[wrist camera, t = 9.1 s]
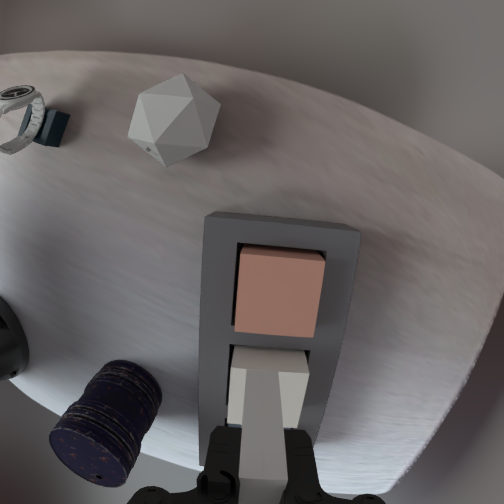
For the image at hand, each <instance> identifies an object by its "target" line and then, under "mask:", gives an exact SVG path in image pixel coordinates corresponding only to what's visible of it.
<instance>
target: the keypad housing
mask: <svg viewBox="0 0 504 504" xmlns="http://www.w3.org/2000/svg"><path fill="white" fill-rule="evenodd" d="M360 240H361V232H360V231H358V230H356V229H354V228H352V227H350V226H348V225H345V224H338V223H329V222H320V221H311V220H302V219H292V218H282V217H272V216H261V215H250V214H239V213H227V212H213V213H211V214H209V215H207V216H205V222H204V237H203V255H202V274H201V297H200V326H199V383H198V413H199V465H200V466H205V461H206V455H207V450H208V445H209V440H210V434H211V432H212V431H213V430H214V429H215V428H216V426H217V425H218V426H227V417H228V402H229V387H230V373H231V364H232V350H233V344H237V345H247V346H257V347H269V348H282V349H298V350H304V352H305V356H306V360H307V365H308V369H309V378H308V383H307V387H306V392H305V396H304V401H303V405H302V409H301V413H300V418H299V422H298V426H297V428H290V429H291V430H305V431H306V432H307V433H308V435H309V436H310V437H311V440H312V446H313V447H314V444H315V441H316V438H317V434H318V431H319V428H320V424H321V421H322V418H323V414H324V411H325V407H326V404H327V400H328V396H329V393H330V389H331V385H332V381H333V377H334V373H335V369H336V365H337V361H338V357H339V353H340V348H341V344H342V340H343V335H344V330H345V326H346V321H347V316H348V311H349V306H350V301H351V295H352V290H353V284H354V278H355V272H356V266H357V260H358V253H359V247H360ZM241 243H250V244H261V245H271V246H282V247H293V248H303V249H313V250H317V252H318V253H319V254H320V255H321V257H322V258H323V259H324V260H325V268H324V275H323V281H322V288H321V294H320V301H319V307H318V313H317V319H316V324H315V330H314V336H313V338H311V337H295V336H281V335H268V334H257V333H246V332H236V331H234V330H235V316H236V304H237V303H236V297H237V284H238V272H239V259H240V247H241Z"/></svg>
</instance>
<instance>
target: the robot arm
mask: <svg viewBox="0 0 504 504" xmlns="http://www.w3.org/2000/svg"><path fill="white" fill-rule="evenodd" d="M28 360H29V352H28V345H27V341H26V338H25V335H24V332H23V330H22V327H21V325H20V323H19V321H18V319H17V318H16V316H15V314H14V313H13V311H12V310H11V309H10V307H9V306H8V305H7V304H6V302H5V301H4V300H3V299H1V298H0V381H3V380H7V379H11V378H14V377H16V376H18V375H19V374H20V373H21V372H22V371H23V370H24V369H25V368H26V367H27V364H28ZM127 504H385V502H384V501H383V500H382V499H381V498H380V497H378V496H376V495H373V494H362V495H359V496H357V497H355V498H354V499H353V500H348V499H342V498H336V497H333V496H331V495H329V494H327V493H326V492H325V491H323V489H322V488H321V486H320V484H319V479H318V473H317V468H316V462H315V457H314V451H313V446H312V440H311V437H310V436H309V435H308V433H307V432H306V431H305V430H290V429H284V428H283V417H282V406H281V395H280V384H279V373H278V371H262V370H249V369H247V370H246V381H245V392H244V403H243V414H242V427H241V428H239V427H228V426H218V425H217V426H216V428H215V429H214V430H213V431H212V432H211V434H210V440H209V445H208V450H207V455H206V461H205V466H204V471H202V472H201V473H200V474H199V476H198V478H197V487H196V488H195V489H193V490H190V491H187V492H182V493H181V492H180V493H169V492H168V491H166V490H164V489H163V488H160V487H156V486H150V487H149V486H147V487H144V488H141V489H139V490H138V491H137V492H136V493H135V494H134V495H133V496H132V498H131V499H130V500H129V502H128V503H127Z"/></svg>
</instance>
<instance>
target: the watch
mask: <svg viewBox="0 0 504 504" xmlns="http://www.w3.org/2000/svg"><path fill="white" fill-rule="evenodd" d="M31 103H32V104H31ZM27 105H28V107H27V110H26V113H25V115H24V118H23V121H22V124H21V127H20V130H19V134H18V136H17V137H16V138H15V139H13V140H11V141H9V142H7V143H5V144H2V145H0V152H3V153H6V154H10V155H11V154H14V153H16V152H18V151H20V150H22V149H24V148H25V147H26V146H28V145H29V144H30V143H32V141H33V142H36V143H39V144H41V145H44V146H52V147H59V145H60V142H61V139H62V136H63V133H64V130H65V128H66V125H67V122H68V119H69V117H70V115H68V114H65V113H62V112H59V111H56V110H52V109H49V108H45V103H44V99H43V97H42V95H41V93H40V92H37V91H35V87H33V86H26V85H25V86H16V87H12V88H8V89H6V90H4V91H2V92H0V117H1V115H2V113H3V114H6V113H7V112H9V111H11V110H16V109H20V108H23V107H25V106H27Z"/></svg>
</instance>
